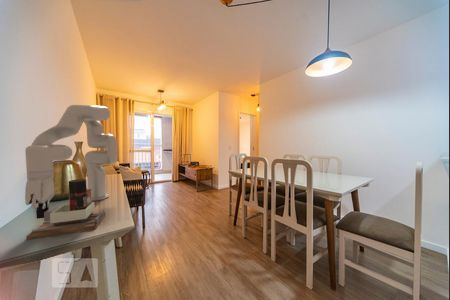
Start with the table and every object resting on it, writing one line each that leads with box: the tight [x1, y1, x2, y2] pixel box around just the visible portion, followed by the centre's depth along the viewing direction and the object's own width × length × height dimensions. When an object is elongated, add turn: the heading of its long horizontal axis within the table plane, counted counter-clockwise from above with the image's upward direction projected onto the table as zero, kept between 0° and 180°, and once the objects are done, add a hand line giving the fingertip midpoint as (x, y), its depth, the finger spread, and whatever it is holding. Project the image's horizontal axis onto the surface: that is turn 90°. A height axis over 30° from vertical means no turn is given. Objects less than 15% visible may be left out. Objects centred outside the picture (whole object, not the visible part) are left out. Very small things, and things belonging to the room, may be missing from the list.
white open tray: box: [43, 201, 95, 226], centre depth 74 cm, size 10×15×6 cm, turn 112°
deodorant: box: [68, 178, 88, 211], centre depth 75 cm, size 6×6×15 cm
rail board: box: [25, 209, 106, 241], centre depth 75 cm, size 14×22×4 cm, turn 112°
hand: (42, 217), depth 71 cm, fingers closed
